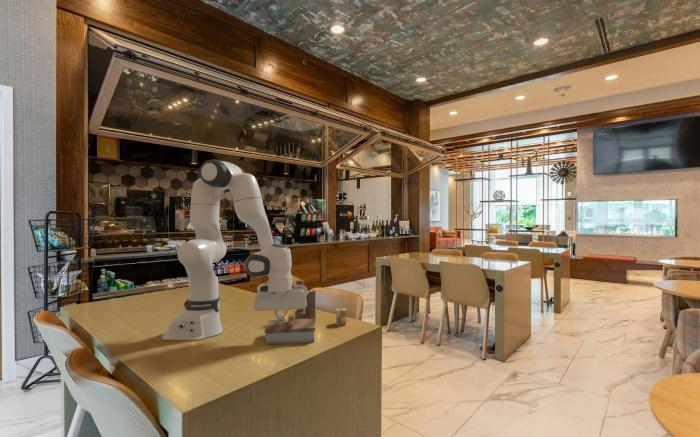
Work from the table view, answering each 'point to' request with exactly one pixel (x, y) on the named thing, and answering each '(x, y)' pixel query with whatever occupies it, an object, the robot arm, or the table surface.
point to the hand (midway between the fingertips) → (281, 320)
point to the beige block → (340, 316)
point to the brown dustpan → (310, 308)
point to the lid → (290, 325)
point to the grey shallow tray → (289, 337)
